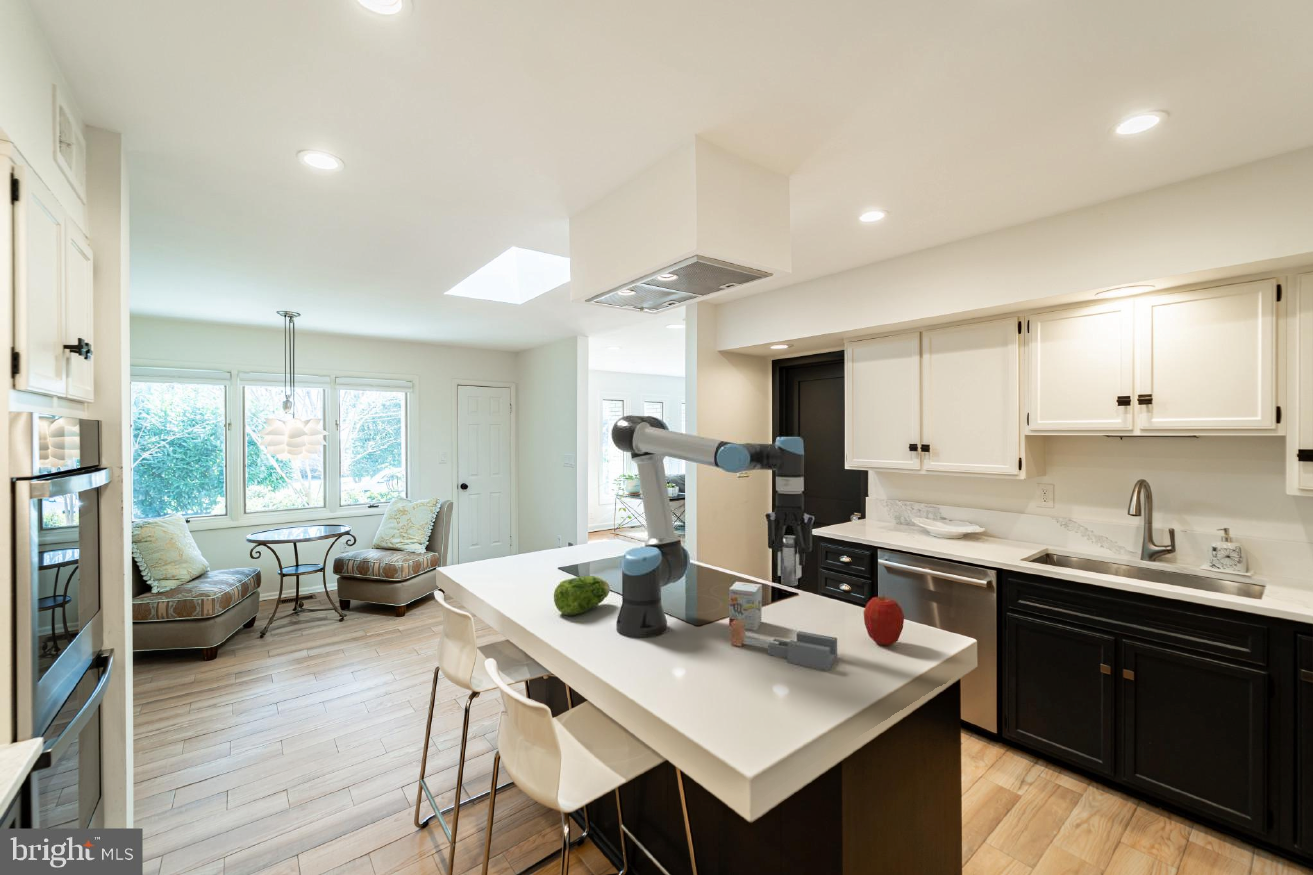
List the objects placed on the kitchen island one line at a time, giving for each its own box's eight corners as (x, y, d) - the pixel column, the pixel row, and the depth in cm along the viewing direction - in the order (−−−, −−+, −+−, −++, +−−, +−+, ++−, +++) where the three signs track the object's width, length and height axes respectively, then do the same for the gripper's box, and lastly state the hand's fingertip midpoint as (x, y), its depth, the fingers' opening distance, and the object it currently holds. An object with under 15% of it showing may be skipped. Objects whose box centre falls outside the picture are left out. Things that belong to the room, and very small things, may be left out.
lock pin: (730, 644, 152) (730, 622, 152) (735, 641, 155) (735, 619, 155) (776, 653, 146) (776, 631, 146) (780, 650, 148) (780, 627, 148)
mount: (765, 657, 144) (765, 638, 144) (777, 645, 152) (777, 627, 152) (827, 670, 136) (827, 650, 136) (837, 657, 144) (837, 637, 144)
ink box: (728, 626, 168) (728, 587, 168) (735, 618, 176) (735, 580, 176) (756, 630, 164) (756, 590, 164) (762, 621, 172) (762, 583, 172)
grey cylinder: (779, 584, 154) (779, 537, 154) (784, 580, 158) (784, 534, 158) (795, 586, 152) (795, 538, 152) (799, 582, 155) (799, 536, 155)
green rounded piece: (618, 605, 188) (618, 572, 188) (573, 621, 172) (573, 585, 172) (594, 599, 195) (594, 567, 195) (549, 614, 179) (549, 579, 179)
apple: (860, 646, 152) (860, 595, 152) (867, 634, 161) (867, 586, 161) (901, 653, 147) (901, 601, 147) (906, 641, 155) (906, 592, 155)
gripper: (755, 491, 156) (755, 574, 156) (817, 494, 147) (817, 583, 147) (764, 489, 162) (764, 569, 162) (824, 492, 153) (824, 576, 153)
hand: (789, 575), depth 155 cm, fingers closed on grey cylinder, 4 cm apart
